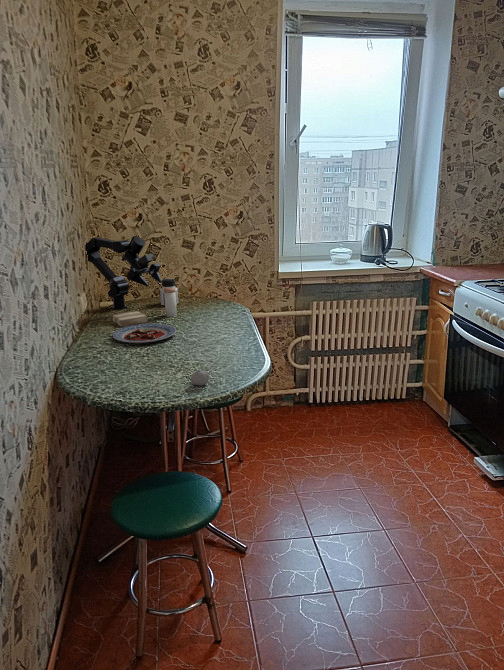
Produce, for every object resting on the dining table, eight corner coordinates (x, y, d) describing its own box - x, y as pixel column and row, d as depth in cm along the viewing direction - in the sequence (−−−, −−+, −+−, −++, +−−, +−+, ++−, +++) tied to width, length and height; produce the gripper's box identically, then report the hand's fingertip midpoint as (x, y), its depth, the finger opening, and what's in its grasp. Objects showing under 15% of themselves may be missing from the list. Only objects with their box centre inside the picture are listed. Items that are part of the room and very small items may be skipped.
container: (176, 305, 274) (174, 280, 270) (161, 305, 274) (159, 280, 270) (178, 302, 281) (176, 277, 277) (163, 302, 281) (161, 277, 278)
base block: (113, 321, 248) (112, 314, 247) (137, 317, 254) (137, 310, 253) (121, 326, 238) (121, 320, 237) (147, 322, 244) (146, 316, 243)
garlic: (196, 389, 168) (195, 373, 167) (187, 384, 172) (187, 368, 171) (212, 384, 172) (212, 369, 170) (204, 379, 176) (203, 364, 174)
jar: (163, 315, 256) (161, 288, 252) (174, 313, 259) (172, 286, 255) (168, 317, 252) (166, 290, 248) (179, 315, 254) (177, 288, 250)
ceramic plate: (163, 348, 209) (163, 341, 208) (102, 345, 214) (101, 338, 213) (184, 329, 233) (184, 322, 232) (129, 327, 238) (128, 320, 237)
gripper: (127, 251, 245) (148, 275, 242) (155, 246, 260) (175, 269, 257) (117, 268, 252) (137, 292, 248) (145, 262, 267) (165, 285, 263)
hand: (154, 284), depth 254 cm, fingers open, 9 cm apart
